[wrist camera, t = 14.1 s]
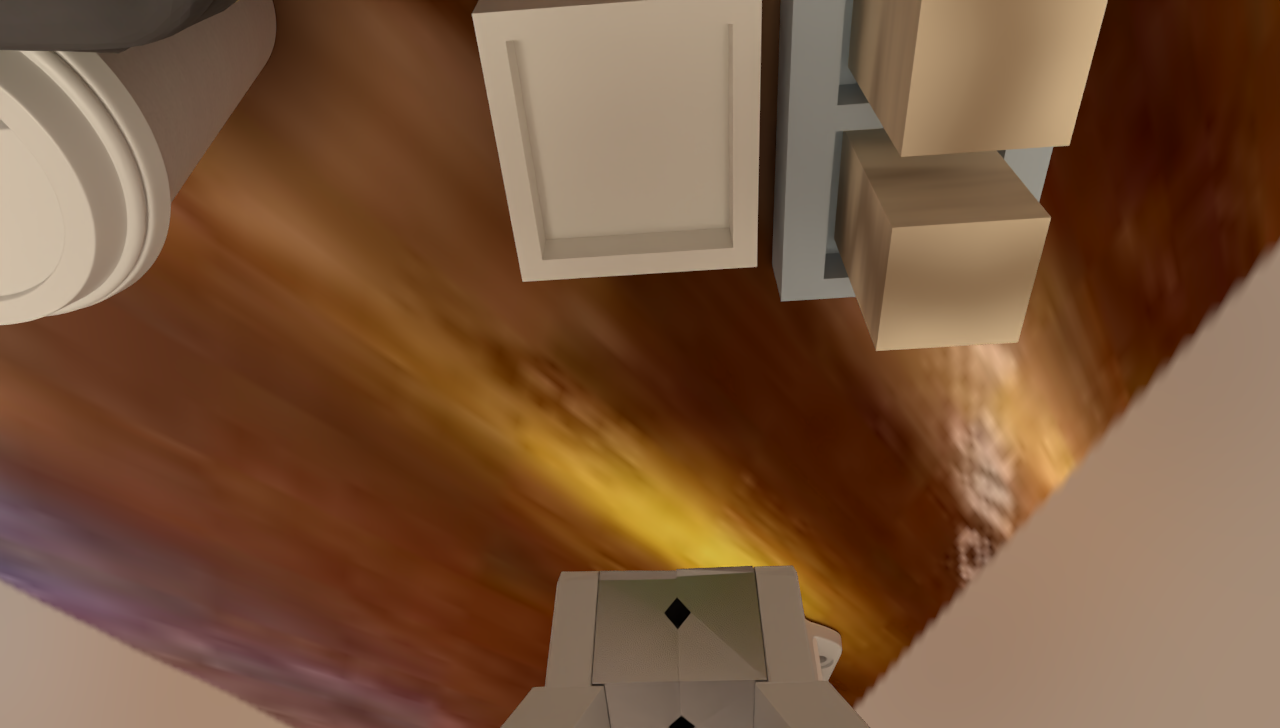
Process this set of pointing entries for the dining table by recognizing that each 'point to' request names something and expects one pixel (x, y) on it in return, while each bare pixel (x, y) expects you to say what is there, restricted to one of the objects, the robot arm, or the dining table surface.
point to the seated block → (936, 243)
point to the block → (974, 70)
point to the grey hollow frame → (827, 147)
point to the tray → (626, 132)
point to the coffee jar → (98, 23)
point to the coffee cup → (110, 154)
